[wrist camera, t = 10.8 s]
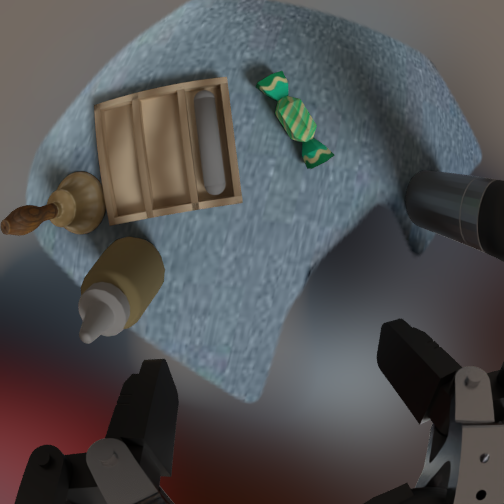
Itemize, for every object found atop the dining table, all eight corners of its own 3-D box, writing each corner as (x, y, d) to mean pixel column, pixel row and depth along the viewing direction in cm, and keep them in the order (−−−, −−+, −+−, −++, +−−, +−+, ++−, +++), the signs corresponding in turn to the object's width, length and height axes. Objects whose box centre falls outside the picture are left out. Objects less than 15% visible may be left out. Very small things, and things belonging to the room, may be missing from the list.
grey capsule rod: (213, 91, 28) (213, 86, 26) (226, 192, 32) (227, 194, 30) (193, 94, 28) (191, 89, 26) (206, 195, 32) (205, 197, 30)
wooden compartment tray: (225, 83, 29) (226, 76, 27) (240, 200, 34) (242, 202, 31) (101, 108, 28) (94, 105, 25) (116, 221, 32) (109, 225, 30)
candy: (254, 89, 30) (259, 79, 26) (276, 77, 30) (284, 67, 26) (304, 168, 34) (315, 168, 30) (325, 155, 34) (338, 154, 30)
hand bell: (61, 166, 29) (-19, 173, 14) (112, 178, 31) (42, 188, 16) (52, 226, 31) (-22, 262, 16) (100, 240, 33) (36, 289, 18)
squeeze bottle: (177, 242, 34) (145, 312, 17) (160, 297, 36) (128, 390, 19) (119, 221, 32) (44, 270, 15) (106, 276, 34) (43, 354, 17)
